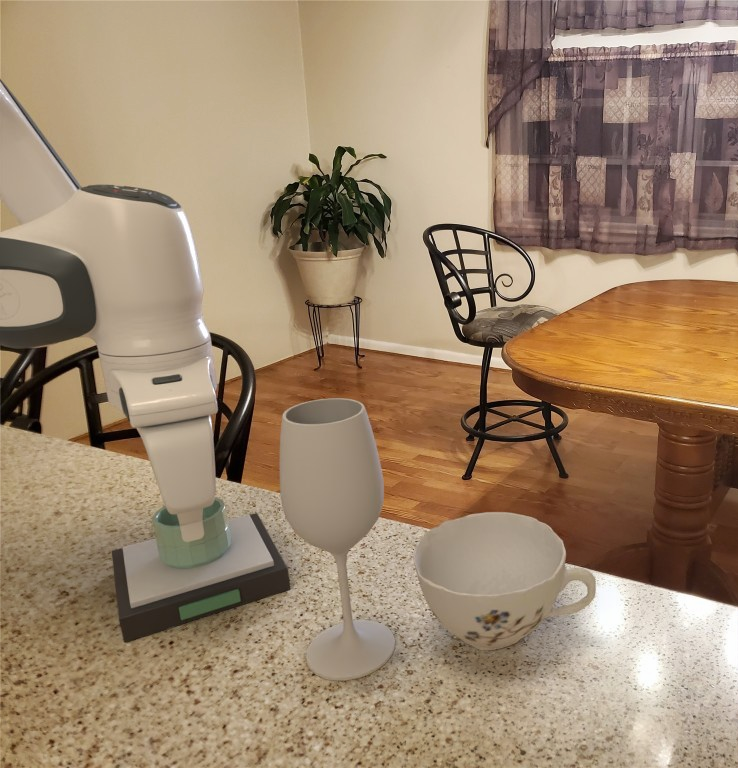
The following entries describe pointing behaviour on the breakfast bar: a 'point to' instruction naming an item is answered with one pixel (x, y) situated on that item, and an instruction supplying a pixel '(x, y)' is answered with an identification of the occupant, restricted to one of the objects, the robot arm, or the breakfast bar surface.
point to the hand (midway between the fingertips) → (185, 515)
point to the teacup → (495, 577)
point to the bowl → (195, 551)
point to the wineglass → (335, 517)
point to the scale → (195, 580)
